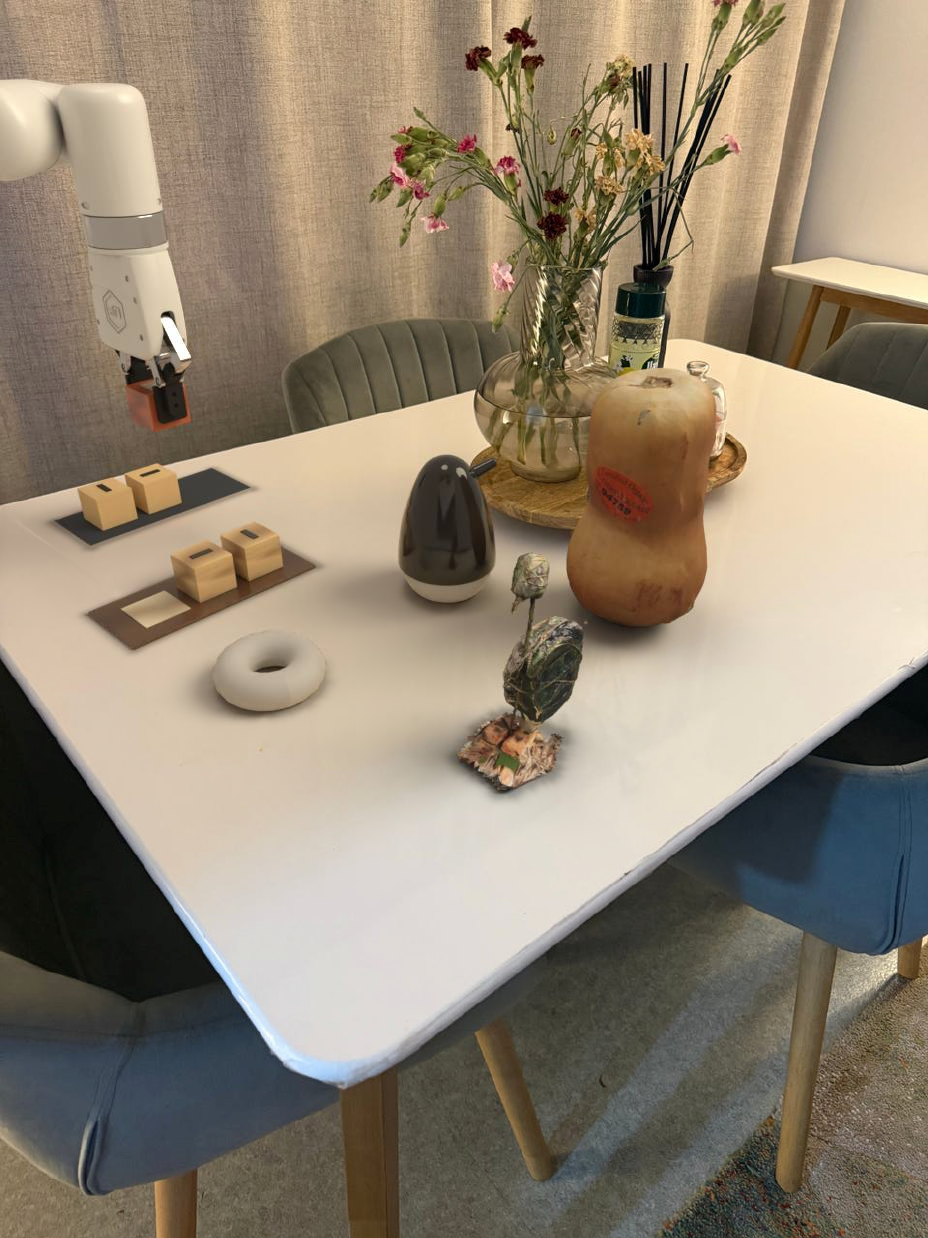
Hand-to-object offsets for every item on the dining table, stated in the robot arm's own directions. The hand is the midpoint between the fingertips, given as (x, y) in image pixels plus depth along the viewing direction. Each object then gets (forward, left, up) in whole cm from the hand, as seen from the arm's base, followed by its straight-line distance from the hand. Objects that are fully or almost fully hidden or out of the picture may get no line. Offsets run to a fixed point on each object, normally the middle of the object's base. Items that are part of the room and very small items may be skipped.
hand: (159, 412), depth 96 cm
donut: (+31, -10, -16) cm, 36 cm away
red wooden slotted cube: (0, 0, -1) cm, 1 cm away
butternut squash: (+48, +22, -16) cm, 55 cm away
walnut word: (+13, -5, -15) cm, 20 cm away
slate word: (-9, +2, -15) cm, 18 cm away
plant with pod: (+53, -1, -16) cm, 55 cm away
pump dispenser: (+31, +13, -16) cm, 37 cm away
